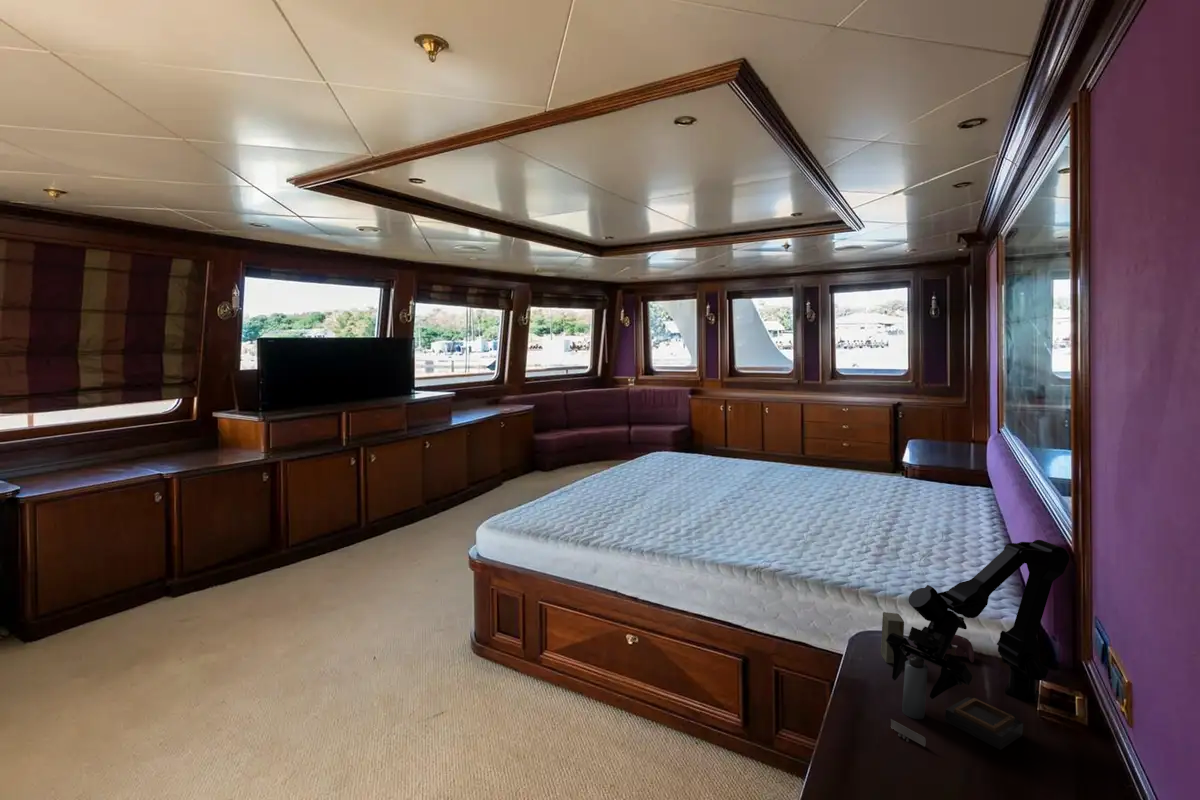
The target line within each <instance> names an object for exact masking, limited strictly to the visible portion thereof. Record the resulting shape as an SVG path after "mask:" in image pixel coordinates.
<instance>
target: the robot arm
mask: <svg viewBox="0 0 1200 800" xmlns="http://www.w3.org/2000/svg"><path fill="white" fill-rule="evenodd" d="M1069 562H1070V555H1069V553H1068V551H1067V549H1065V548H1064V547H1061V546H1059V545H1056V544H1054V543H1050V542H1048V541H1046V540H1042V539H1035V540H1034V541H1032V542H1031V541H1019V542H1010V543H1007V544H1006V545H1005V546H1004V548H1003V550H1002V551H1001V552H1000V553H999V554H997V556H995V557H994V558H993V559H992V560H991V561H990V562H989V563H988V564H987V565H986V566H984V567H983V568H982V569H981V570H980V571H979V572H978V573H977V574H976V575H974V576H973V577H971V578H970V579H968V580H965V581H961V582H958V583H957V584H956V585H953V586H952V587H951V588H949V589H948V590H946V591H941V592H938V591H937V589H935V588H934V587H933V586H931V585H929V584H927V585H925V587H920V588H917V589H916V590H913V591H912V592H911V593H910V594H909V596H908V604H909V605H910V606H911V607H912V608H913V609H914V610H915V611H916V612H917V613H918V614H919V615H920V616H921V617H922V618H923V619H924V620H926V621H927V622H929V624H928V625H927V626H923V627H922V629H920V628H916V627H914V626H911V628H910V631H909V634H908V637H907V638H906V637H904V636H903V637H902V636H899V635H897V634H895V633H891V634H889V635H888V637H887V639H886V642H887V643H888V644H889V646H890V648H891V649H892V651H893V653H894V663H892V664H893V666H892V674H891V678H892V680H893V681H896V680H897V679H898V678H899V677H900V675H901V673H902V671H903V670H904V669H905V662H906V661H907V660H909V658H908V657H910V656H918V657H921V658H922V659H924V661H926V662H928V663H931V664H932V665H935V666H938V667H939V668H941V669H940V675H939V677H938V679H937V680H936V682H935V683H934V686H933V688H932V689H931V690H930V694H929V698H930V699H932V700H933V699H935V698H936V697H938V696H939V695H941V694H943V693H944V692H946V691H947V690H949V689H951V688H954V687H956V686H962V685H963V684H964V685H967V686H969V685H970V684H971V682H972V679H973V674H972V672H971V671H970V669H969V667H968V666H967V665H966V663H964V662H962V661H960V660H957V659H955V658H953V657H948V658H947V659H945V658H944V657H945V655H947V654H946V652H947V650H948V649H950V650H952V647H953V645H951V642H952V640H953V638H954V636H955V635H957V631H958V630H959V629H962V630H967V629H968V627H967V624H966V622H965V618H967V619H975V618H977V617H978V616H980V615H981V614H982V612H983V611H984V609H985V608H986V607H987V606H988V603H989V597H990V596H991V594H992V593H993V592H995V590H997V588H999V587H1000V586H1001V585H1002V584H1003V583H1004V582H1005V581H1007V580H1008V579H1009V578H1010V577H1011V576H1012V575H1013V574H1014V573H1015V572H1016V571H1017V570H1019V568H1021V566H1023V565H1024V564H1026V566H1027V570H1028V577H1027V581H1026V583H1025V586H1024V590H1023V594H1022V597H1021V601H1020V603H1019V607H1018V610H1017V614H1016V617H1015V621H1014V624H1013V626H1012V627H1011V628H1010V629H1009V630H1007V631H1005V630H1001V632H1000V633H999V639H998V641H997V643H996V646H997V652H998V653H999V655H1000V656H1001V661H1002V663H1003V664H1006V665H1008V667H1009V677H1008V678H1009V679H1008V683H1007V685H1006V687H1005V690H1004V694H1007V695H1010V696H1012V697H1016V698H1019V699H1022V700H1025V701H1027V702H1031V703H1033V704H1034V703H1035V704H1036V703H1037V700H1038V697H1039V695H1040V691H1039V690H1038V689H1037V683H1038V681H1042V679H1046V678H1047V676H1048V673H1049V669H1048V668H1047V667H1046V666H1045V665H1044V664H1043V663H1042V662H1041V660H1040V655H1041V654H1040V653H1041V648H1040V644H1039V641H1038V636H1037V635H1038V631H1039V629H1040V625H1041V623H1042V618H1043V615H1044V612H1045V608H1046V606H1047V602H1048V599H1049V595H1050V591H1051V589H1052V586H1053V585H1052V584H1053V583H1054V581H1055V580H1057V579H1058V578H1059V577H1061V576H1062V575H1063V574H1064V573H1065V571H1066V568H1067V566H1068V564H1069ZM957 614H958V615H957ZM959 615H961V616H959ZM964 617H965V618H964ZM908 640H909V641H911V642H912V643H913V644H914V645H915V646H913V645H911V644H910V642H909V641H908Z"/></svg>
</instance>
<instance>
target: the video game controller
mask: <svg viewBox="0 0 1200 800" xmlns="http://www.w3.org/2000/svg"><path fill="white" fill-rule="evenodd" d="M951 645H952V646H956V647H955V649H954V654H955V655H956V656H957V657H963V656H964V655H965V653H966V655H967V657H968V660H969V661H970V663H972V664H973V663H974V662H975V652H974V648H973V644H972V642H971V641H970V640H969V639H968V638H966V637H964V636H961V635H959V634H955V636H954V638H953V640H952V642H951ZM952 652H953V651H952V649H951V650H950V649H948V650H947V652H946V654H945V655H950V654H951V653H952Z"/></svg>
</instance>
